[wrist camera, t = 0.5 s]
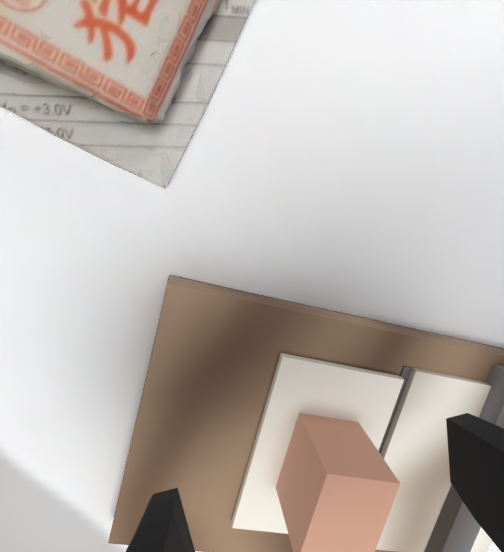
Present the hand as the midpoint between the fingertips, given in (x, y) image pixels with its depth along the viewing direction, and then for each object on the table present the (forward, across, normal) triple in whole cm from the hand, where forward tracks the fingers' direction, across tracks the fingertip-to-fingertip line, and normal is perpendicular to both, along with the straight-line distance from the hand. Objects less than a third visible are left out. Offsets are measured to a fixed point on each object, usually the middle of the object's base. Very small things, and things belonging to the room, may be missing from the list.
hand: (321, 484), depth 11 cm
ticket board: (+10, -3, +6) cm, 12 cm away
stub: (+8, -1, +5) cm, 10 cm away
